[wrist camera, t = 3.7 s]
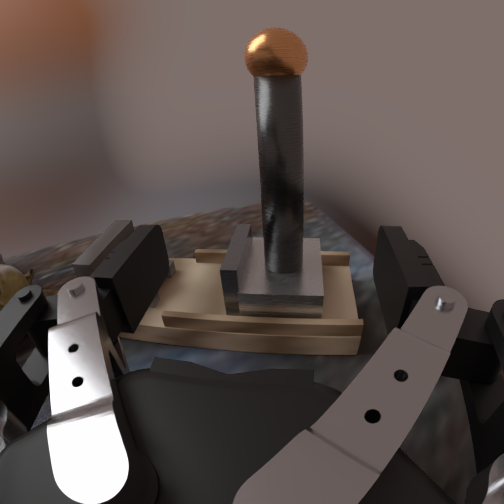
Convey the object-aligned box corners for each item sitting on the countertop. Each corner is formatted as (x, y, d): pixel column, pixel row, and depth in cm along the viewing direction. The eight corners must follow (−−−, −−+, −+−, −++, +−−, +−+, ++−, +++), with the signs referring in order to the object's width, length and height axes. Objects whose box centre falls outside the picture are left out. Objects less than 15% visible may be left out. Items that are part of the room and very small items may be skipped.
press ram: (225, 320, 24) (189, 26, 13) (242, 262, 30) (222, 39, 20) (320, 324, 23) (327, 16, 12) (318, 264, 29) (318, 35, 19)
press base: (86, 331, 26) (57, 270, 23) (128, 271, 35) (112, 216, 31) (356, 354, 23) (372, 282, 19) (345, 278, 31) (352, 215, 27)
